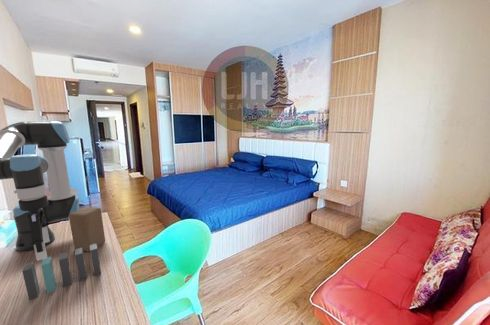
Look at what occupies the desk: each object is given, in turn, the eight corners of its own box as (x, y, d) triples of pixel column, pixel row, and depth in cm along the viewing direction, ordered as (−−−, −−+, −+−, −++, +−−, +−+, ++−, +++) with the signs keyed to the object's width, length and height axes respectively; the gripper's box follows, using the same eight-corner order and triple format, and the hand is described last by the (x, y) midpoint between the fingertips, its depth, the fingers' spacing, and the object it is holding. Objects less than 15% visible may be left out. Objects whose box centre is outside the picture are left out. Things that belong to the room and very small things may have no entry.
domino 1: (30, 291, 84) (24, 264, 82) (39, 288, 85) (33, 261, 83) (28, 300, 80) (22, 271, 78) (38, 296, 82) (31, 268, 79)
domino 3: (64, 280, 90) (59, 254, 88) (71, 277, 91) (67, 251, 89) (63, 287, 86) (58, 260, 84) (71, 284, 88) (66, 257, 85)
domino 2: (48, 285, 87) (42, 258, 85) (56, 282, 88) (51, 256, 86) (47, 293, 83) (41, 265, 81) (55, 290, 85) (50, 262, 82)
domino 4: (79, 274, 93) (74, 249, 91) (86, 272, 94) (82, 247, 92) (79, 281, 89) (74, 255, 87) (87, 278, 91) (82, 252, 88)
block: (90, 252, 109) (84, 215, 105) (73, 250, 111) (67, 213, 107) (106, 241, 118) (101, 207, 114) (91, 240, 120) (85, 206, 116)
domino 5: (93, 269, 96) (89, 245, 94) (100, 267, 98) (96, 243, 95) (94, 276, 92) (90, 250, 90) (101, 273, 94) (97, 248, 91)
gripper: (23, 190, 86) (34, 239, 90) (10, 211, 67) (25, 272, 71) (48, 187, 90) (57, 233, 94) (43, 205, 71) (55, 262, 75)
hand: (43, 250), depth 83 cm, fingers open, 13 cm apart
